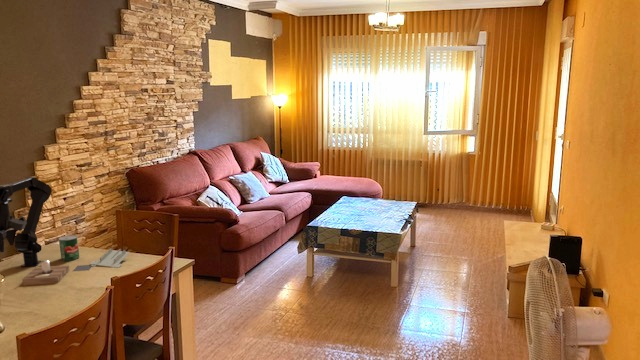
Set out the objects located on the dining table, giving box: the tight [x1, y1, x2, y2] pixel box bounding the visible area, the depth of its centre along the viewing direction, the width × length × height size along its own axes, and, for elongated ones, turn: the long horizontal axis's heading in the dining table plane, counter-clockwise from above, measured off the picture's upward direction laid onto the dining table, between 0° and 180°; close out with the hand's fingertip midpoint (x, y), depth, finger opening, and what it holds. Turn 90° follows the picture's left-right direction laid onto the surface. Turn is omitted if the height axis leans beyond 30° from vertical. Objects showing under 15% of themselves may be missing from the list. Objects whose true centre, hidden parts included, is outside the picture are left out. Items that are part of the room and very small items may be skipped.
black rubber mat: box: [72, 264, 93, 272], centre depth 231 cm, size 7×7×1 cm
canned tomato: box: [58, 234, 80, 262], centre depth 242 cm, size 8×8×11 cm
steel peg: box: [40, 259, 51, 274], centre depth 219 cm, size 3×3×8 cm
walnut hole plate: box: [21, 264, 71, 286], centre depth 220 cm, size 14×14×3 cm
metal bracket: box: [89, 248, 131, 269], centre depth 237 cm, size 14×6×15 cm
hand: (7, 248), depth 223 cm, fingers open, 9 cm apart
